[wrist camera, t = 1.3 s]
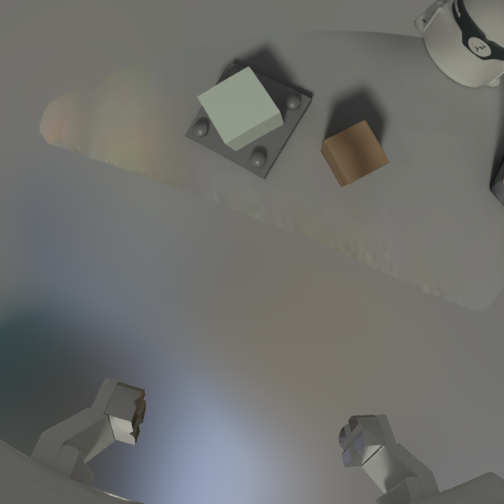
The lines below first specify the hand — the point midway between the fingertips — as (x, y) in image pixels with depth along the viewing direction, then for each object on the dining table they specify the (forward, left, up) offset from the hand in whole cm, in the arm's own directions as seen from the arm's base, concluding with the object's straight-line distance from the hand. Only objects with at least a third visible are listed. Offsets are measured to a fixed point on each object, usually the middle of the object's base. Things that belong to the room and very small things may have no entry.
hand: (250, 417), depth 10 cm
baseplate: (-14, -16, -35) cm, 41 cm away
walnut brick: (-16, 0, -35) cm, 39 cm away
